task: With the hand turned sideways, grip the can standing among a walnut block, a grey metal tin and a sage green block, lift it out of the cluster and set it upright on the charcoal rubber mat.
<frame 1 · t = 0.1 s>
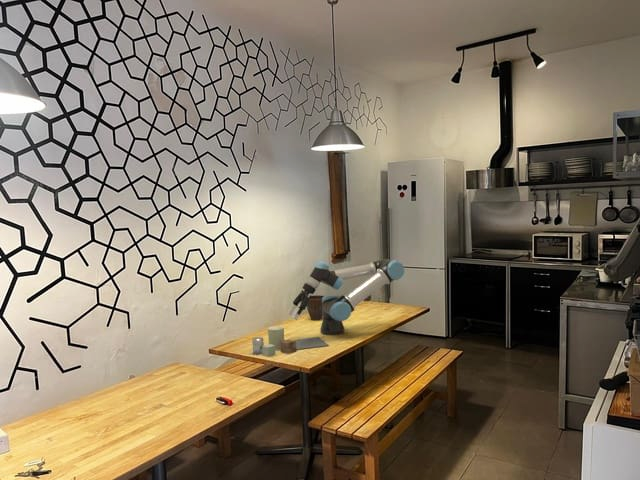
hand: (291, 316, 276), 15 cm above the table, tool tilted 35°, fingers open, 13 cm apart
grey tin: (258, 353, 258), on the table
charcoal mat: (307, 343, 272), on the table
walnut block: (288, 351, 258), on the table
sage block: (269, 354, 254), on the table
plant pot: (316, 319, 336), on the table
can: (276, 348, 266), on the table
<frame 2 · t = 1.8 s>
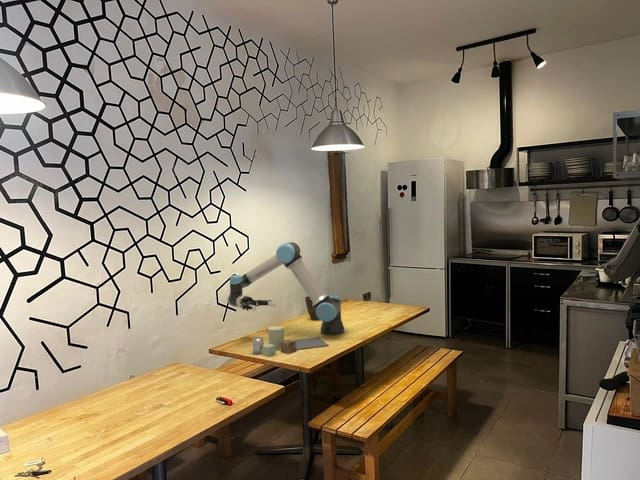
hand: (265, 306, 272), 22 cm above the table, tool horizontal, fingers open, 13 cm apart
nothing on the table moved.
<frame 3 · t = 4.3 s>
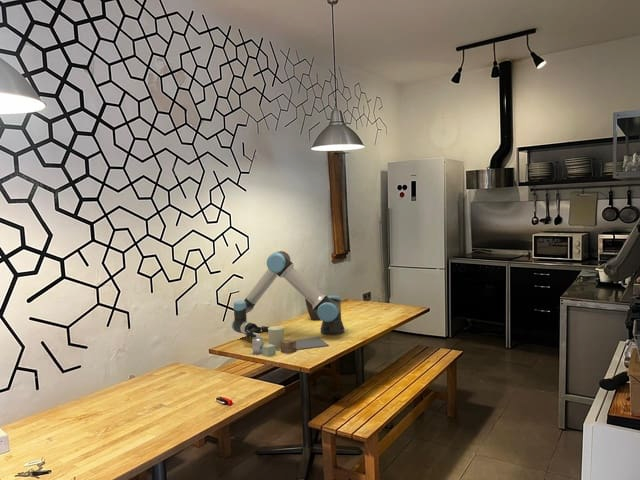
hand: (269, 334, 270), 7 cm above the table, tool horizontal, fingers open, 13 cm apart
nothing on the table moved.
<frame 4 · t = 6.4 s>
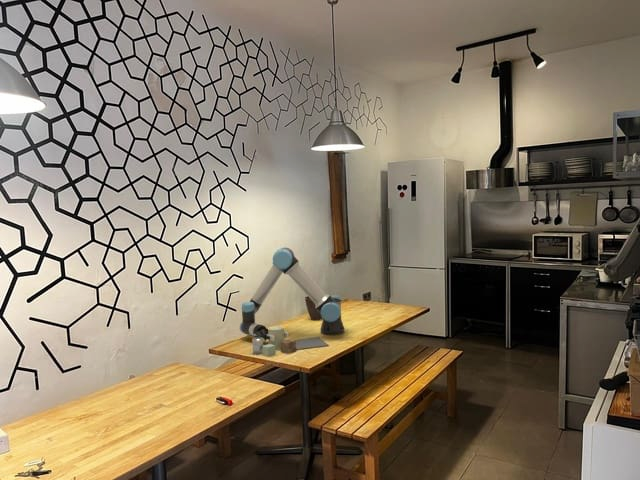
hand: (281, 337, 263), 7 cm above the table, tool horizontal, fingers closed on can, 9 cm apart
can: (276, 348, 266), on the table, touching gripper
everything else where it was.
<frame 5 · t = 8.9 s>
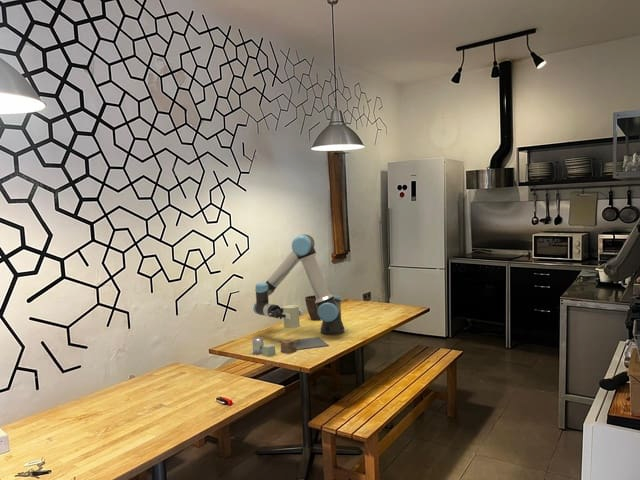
hand: (296, 315, 266), 18 cm above the table, tool horizontal, fingers closed on can, 9 cm apart
can: (291, 326, 270), point 11 cm above the table, touching gripper
everything else where it was.
when the fingers open (9 cm above the table, at t = 11.6 s): can drops 2 cm, resting on charcoal mat.
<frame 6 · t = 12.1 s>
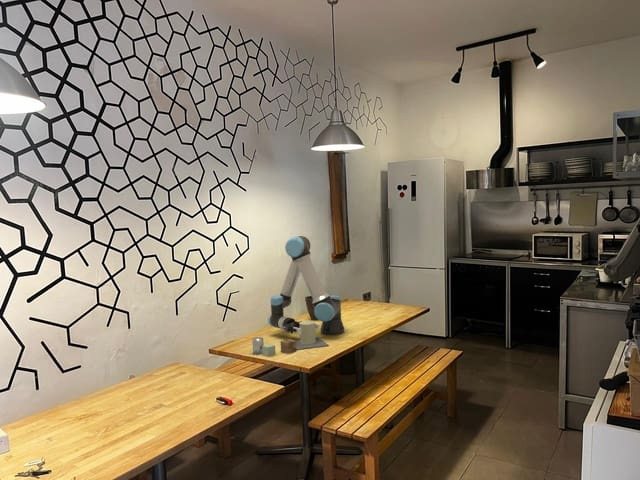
hand: (310, 328, 270), 9 cm above the table, tool horizontal, fingers open, 13 cm apart
can: (307, 342, 274), resting on charcoal mat
everything else where it was.
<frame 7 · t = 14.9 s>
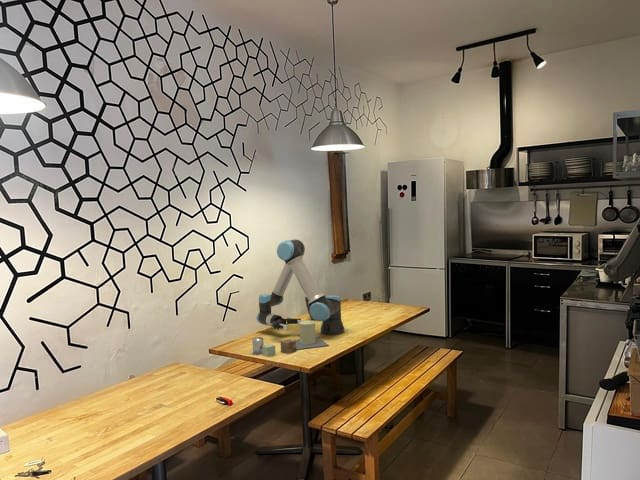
hand: (296, 325, 279), 9 cm above the table, tool horizontal, fingers open, 13 cm apart
nothing on the table moved.
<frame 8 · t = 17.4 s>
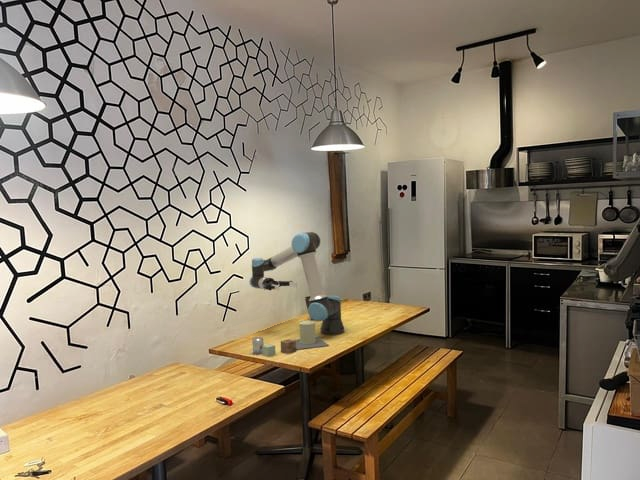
hand: (287, 286, 283), 32 cm above the table, tool horizontal, fingers open, 13 cm apart
nothing on the table moved.
at the end: can inside the target area on the charcoal mat (1.5 cm from its centre), point 0.4 cm above the charcoal mat's base; can tilted 0°; walnut block moved 0.1 cm from its start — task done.
